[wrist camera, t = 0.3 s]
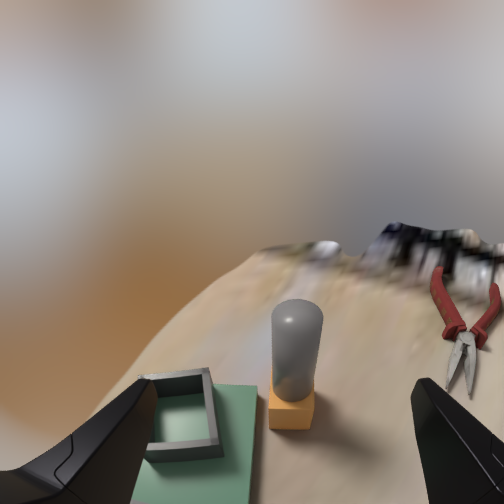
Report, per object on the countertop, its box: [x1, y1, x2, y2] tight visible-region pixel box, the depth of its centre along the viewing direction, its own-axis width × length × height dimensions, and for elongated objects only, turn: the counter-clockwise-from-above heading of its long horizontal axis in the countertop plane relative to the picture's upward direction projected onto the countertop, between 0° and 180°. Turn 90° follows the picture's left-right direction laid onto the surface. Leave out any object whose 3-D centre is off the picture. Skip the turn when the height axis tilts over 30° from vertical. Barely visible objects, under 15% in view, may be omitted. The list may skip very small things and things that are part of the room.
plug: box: [268, 299, 323, 429], centre depth 22 cm, size 4×4×12 cm
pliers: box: [430, 266, 501, 395], centre depth 30 cm, size 12×20×3 cm, turn 148°
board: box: [131, 384, 258, 504], centre depth 18 cm, size 21×10×2 cm, turn 176°
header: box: [138, 367, 225, 463], centre depth 22 cm, size 7×6×3 cm
